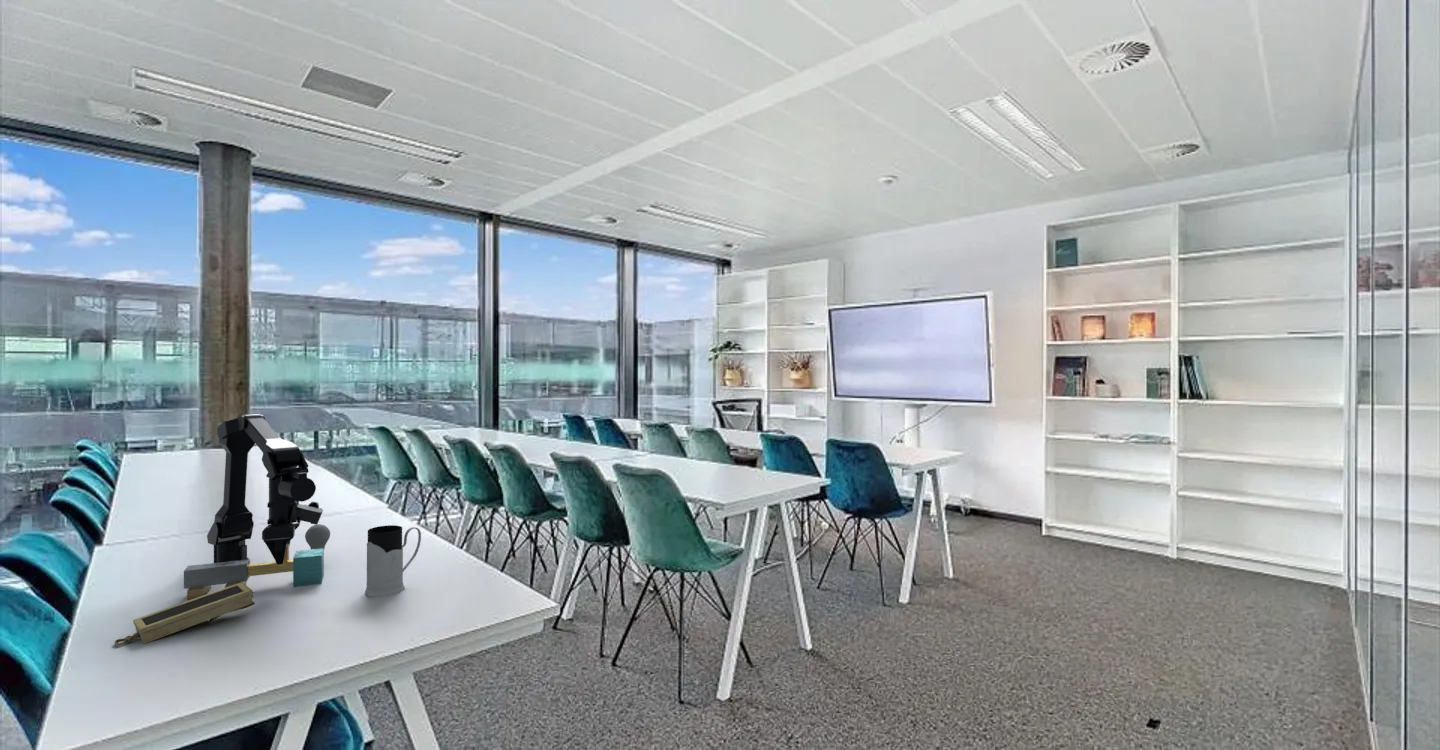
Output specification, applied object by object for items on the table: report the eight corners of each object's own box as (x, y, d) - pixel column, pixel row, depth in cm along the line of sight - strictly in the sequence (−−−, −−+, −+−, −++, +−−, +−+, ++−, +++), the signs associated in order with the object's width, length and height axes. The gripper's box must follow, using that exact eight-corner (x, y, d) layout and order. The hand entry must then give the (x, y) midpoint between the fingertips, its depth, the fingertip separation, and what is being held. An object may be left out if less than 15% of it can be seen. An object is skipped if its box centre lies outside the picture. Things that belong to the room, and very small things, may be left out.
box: (258, 610, 141) (254, 588, 140) (121, 663, 124) (115, 638, 123) (247, 601, 146) (242, 580, 146) (113, 651, 129) (107, 628, 129)
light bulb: (310, 564, 177) (310, 528, 177) (301, 560, 181) (301, 524, 181) (333, 559, 182) (334, 524, 182) (324, 555, 186) (324, 521, 186)
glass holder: (356, 592, 156) (356, 530, 156) (408, 576, 169) (409, 518, 169) (379, 599, 152) (379, 535, 152) (431, 581, 165) (431, 522, 165)
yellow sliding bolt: (213, 580, 154) (213, 553, 154) (216, 577, 157) (216, 550, 156) (307, 569, 163) (308, 544, 163) (309, 566, 165) (309, 541, 165)
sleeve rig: (181, 601, 149) (181, 571, 149) (190, 590, 156) (190, 561, 156) (321, 584, 162) (321, 555, 162) (323, 574, 169) (323, 547, 169)
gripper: (317, 500, 157) (317, 565, 157) (323, 487, 173) (323, 545, 173) (261, 505, 152) (261, 571, 152) (273, 491, 168) (273, 551, 168)
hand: (282, 559), depth 161 cm, fingers open, 9 cm apart
